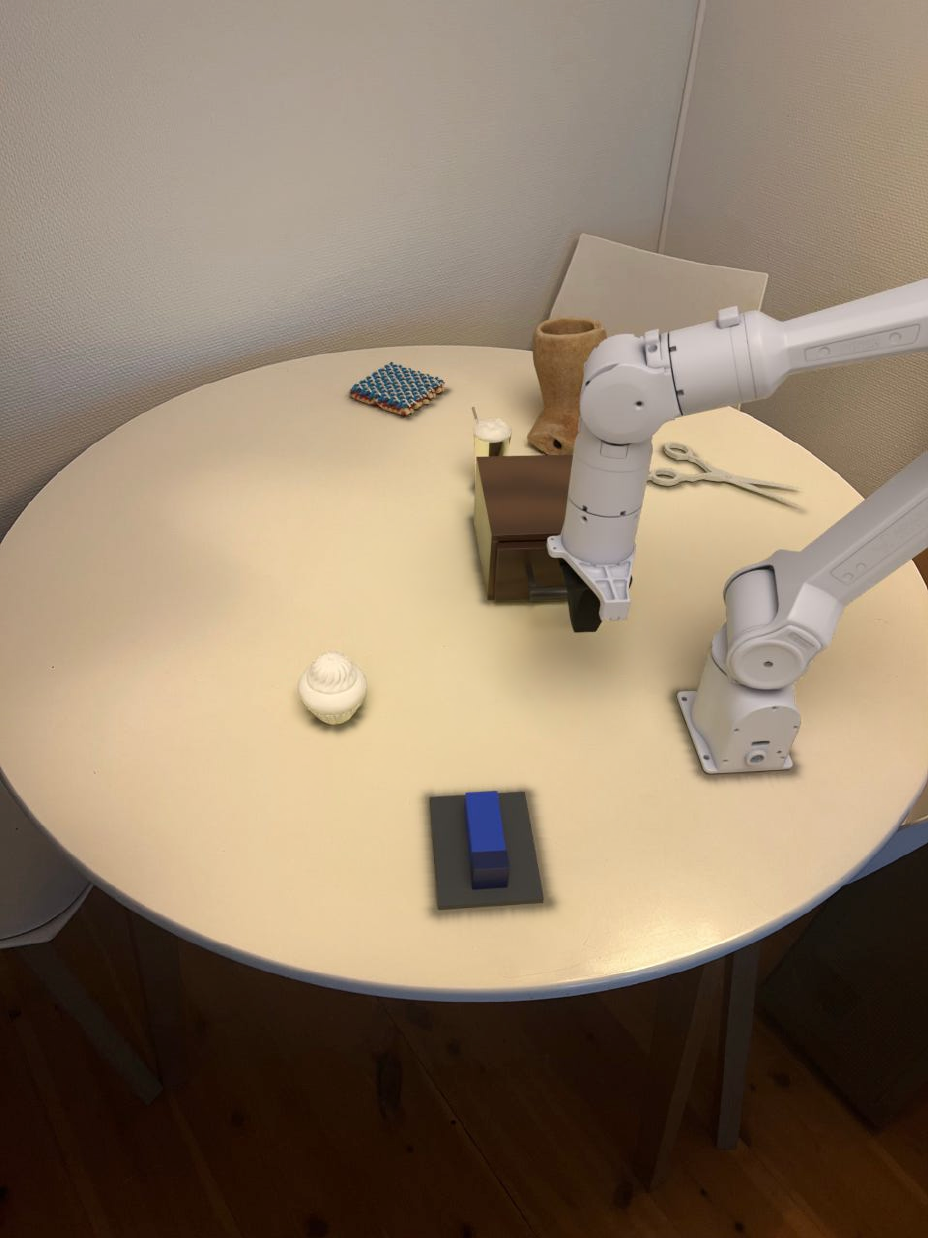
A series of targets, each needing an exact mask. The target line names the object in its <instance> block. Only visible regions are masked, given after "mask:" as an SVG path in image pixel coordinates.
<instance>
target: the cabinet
mask: <svg viewBox="0 0 928 1238" xmlns="http://www.w3.org/2000/svg"><path fill="white" fill-rule="evenodd" d="M572 460H573V455H548V454H538V455H537V454H535V455H508V456H486V457H476V476H475V475H474V476H475V477H474V478H475V480H474V499H473V525H474V531H475V537H476V544H477V548H478V554H479V560H480V566H481V573H482V575H483V576H482V577H483V582H484V589H485V595H486V600H487V601H495V599H494V580H495V566H496V552H497V543H498V542H499V541H520V540H547V539H548V537H550V536H559V535H560V534H561V532H562V528H563V525H564V521H565V513H566V506H567V498H568V490H569V483H570V475H571V468H572Z"/></svg>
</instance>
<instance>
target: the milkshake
mask: <svg viewBox="0 0 928 1238" xmlns="http://www.w3.org/2000/svg"><path fill="white" fill-rule="evenodd" d="M475 408H476V407H475V406H472V407H471V411H472V415H473V419H474V422H475V425H474V426H473V429H472V433H473V435H472V436H473V453H474V476H476V457H486V456H509V450H510V445H511V440H512V434H513V431H512V430H513V429H512V427H511V425H510V424H509V423H508V422H507V421H506V420H504V419H502V417H497V418H496V417H495V418H493V417H492V418H491V417H489V418H485V419H482V420H480V421H479V418H478V415H477V412H476V409H475Z"/></svg>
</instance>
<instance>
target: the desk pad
mask: <svg viewBox="0 0 928 1238" xmlns="http://www.w3.org/2000/svg"><path fill="white" fill-rule="evenodd" d="M498 799H499V806H500V813H501V819H502V826H503V833H504V839H505V846H506V850H507V854H508V860H509V867H510V869H509V877H508V886H507V887H506V888H491V889H476V890H473V889H472V882H471V873H470V870H471V867H470V858H469V849H468V840H467V831H466V823H465V814H464V808H465V794H457V795H442V796H441V795H440V796H430V797H429V808H430V809H429V810H430V819H431V821H430V822H431V833H432V845H433V846H432V847H433V858H434V859H433V860H434V872H435V884H436V885H435V886H436V897H437V909H438V911H439V910H454V909H469V908H470V909H471V908H484V907H498V906H511V905H512V906H513V905H525V904H526V905H527V904H541V903H544V899H545V898H544V893H543V886H542V880H541V876H540V870H539V864H538V858H537V851H536V847H535V841H534V835H533V829H532V824H531V817H530V813H529V808H528V802H527V795H526V792H525V791H510V792H498Z"/></svg>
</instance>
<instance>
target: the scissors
mask: <svg viewBox="0 0 928 1238" xmlns="http://www.w3.org/2000/svg"><path fill="white" fill-rule="evenodd" d="M672 449H678V450H682V451H683V452H685V453H680V452H677V451H675V450H672ZM663 452H664V453H665V455H666V456H668V457H669V458H671V459H674V460H676V461H688V462H691V463H694V464H697V465H698V466H699V467H700V468H702V469H703V470H704V471H705V472H701V473H695V474H686V473H681V472H678V471H676V470H675V469H673V468H672V467H658V468H655V469H653V470H651V472H650V473H649V474H648V479H647V481H651V482H652V483H655V484H657V485H659V486H665V487H669V486H675V485H678V484H679V483H680V482H684V481H688V482H692V483H693V482H694V483H695V482H696V481H699V480H700V481H701V480H707V481H711V482H712V481H713V482H725V483H727V484H728V483H729V484H730V483H731V484H733V485H736V486H739V487H741V488H744V489H747V490H749V491H752V492H756V493H758V494H761V495H764V496H767V497H770V498H773V499H776V500H779V501H781V502H784V503H787V504H791V505H794V506H799V507H800V505H799V504H797V503H795V502H793V501H790V500H789V499H788V500H787V499H785V498H783V497H782V496H781V497H780V496H778V495H776V494H773V493H771V492H769V491H767V490H764V489H761V488H760V487H758V486H755V485H763V486H773V487H784V488H792V489H799V487H798V486H793V485H789V484H783V483H777V482H773V481H768V480H762V479H757V478H751V477H746V476H740V475H735V474H731V473H729V472H727V471H725V470H723V469H720V468H717V467H715V466H713V465H711V464H709V463H706V462H705V460H704V459H703V458H700V457H697V456H695V454H694V453H693V450H692V449H691V447H689V446H688V445H687V444H685V443H682V442H677V441H670V442H669V441H668V442H667V443H665V445H664V449H663ZM658 475H665V476H669V477H672V478H663V477H659V476H658ZM753 484H754V485H753ZM800 489H802V490H803V489H804V488H802V487H800Z"/></svg>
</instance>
